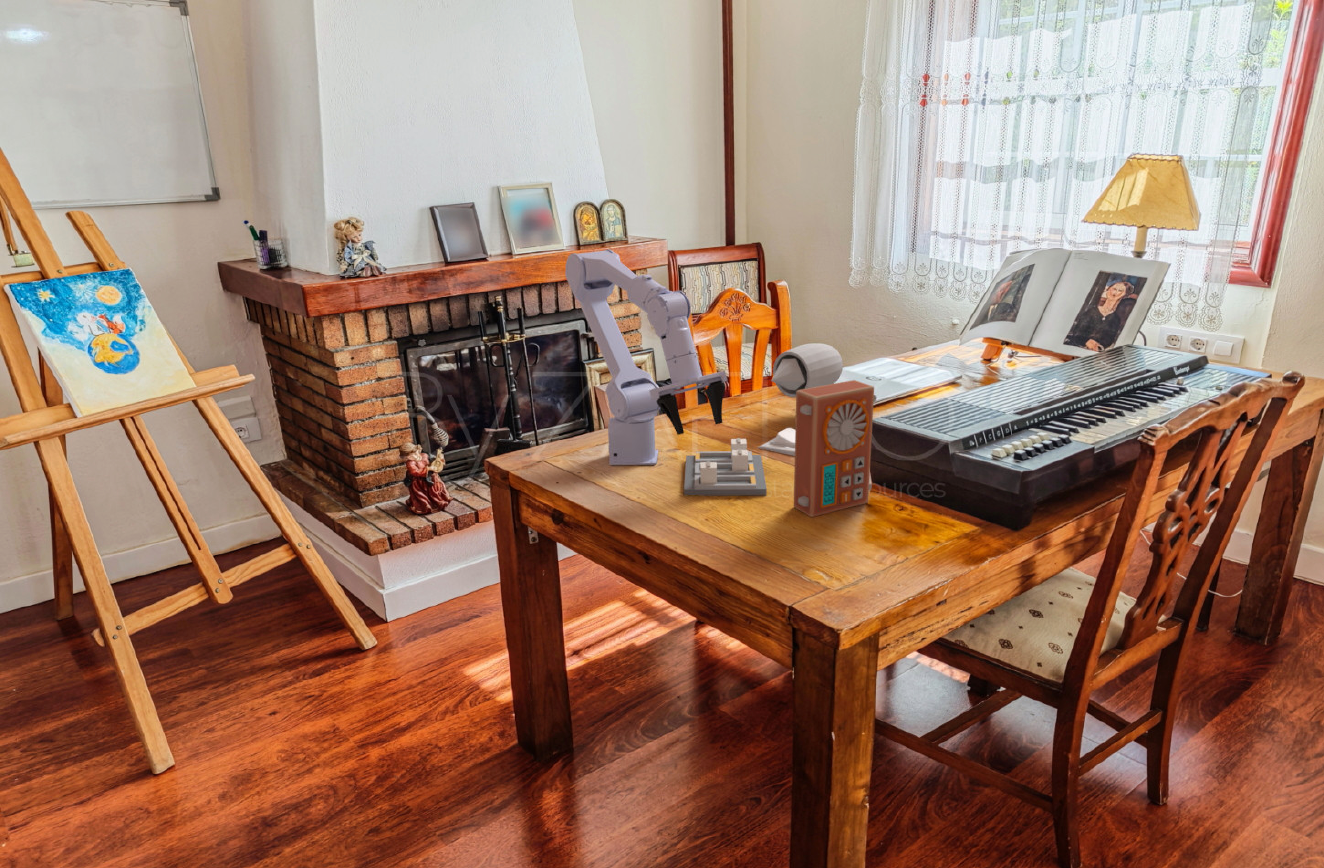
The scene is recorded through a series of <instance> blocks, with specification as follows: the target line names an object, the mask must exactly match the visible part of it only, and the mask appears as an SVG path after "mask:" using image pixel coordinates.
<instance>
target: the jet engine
mask: <svg viewBox="0 0 1324 868" xmlns="http://www.w3.org/2000/svg"><path fill="white" fill-rule="evenodd" d="M843 363H844V362H843V359H842V356H841V354H840V353H839V351H838V350H837V348H836V349H835V347H834V346H831V345H829V344H825V343H819V342H818V343H814V342H813V343H805V344H802V345H801V344H800V345H798V346H795V347H793V348H790V349H788V350H786V351H784V352H782V353H780V354H779V355H778V356H777V357H776V358H775V361H774V363H773V368H772V375H773V377H772V379H771V380H770V381H771V382H773V383H775V385H776V387H777V388H778V390H779V391H780V392H781V393H782V394H784V396H786V397H788V398H794V399H796V391H797V390H802V389H808V388H813V387H819V386H824V385H830V384H835V383H837V381H838V380H839V379H840V377H841V375H842V373H843V368H844V364H843Z"/></svg>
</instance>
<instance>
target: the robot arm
mask: <svg viewBox="0 0 1324 868" xmlns="http://www.w3.org/2000/svg"><path fill="white" fill-rule="evenodd" d="M564 275H565V278H566V281H567V283H568V285H569V288H570V289H571V292H572V293H573V296H574V298H575V299H576V300H577V301H578V303H579V305H580V308H581V310H582V313H583V315H584V316H585V320H586V321H587V322H586V323H588V326H589V328H590V331H591V332H592V335H593V337H594V339H595V341H596V342H595V343H596V344H597V347H598V349H599V351H600V353H601V355H602V358H603V360H604V362H605V364H606V366H607V369H608V371H609V373H610V375H611V379H610V380H609V382H608V383H607V385H606V387H605V394H606V396H607V402H608V407H609V410H610V412H611V414H612V415H613V416H614V417H609V418H608V424H607V425H608V427H607V430H608V431H607V434H608V435H607V437H608V453H609V454H608V456H609V459H608V460H609V462H608V463H609V465H610V466H630V465H631V466H633V465H635V466H650V465H651V466H652V465H653V466H654V465H657V463H658V455H659V450H658V449H656V435H655V417H657V416H658V412H659V411H660V410H662V411H663V412H664V414H665V415H666V417H667V418H668V419H669V421H670V423H671V425H672V426H673V428H674V430H675V432H676V435H677V436H678V435H683V434H684V433H685V430H684V427H683V423H682V420H681V417H680V413H679V412H680V411H679V406H678V401H677V397H676V396H675V395H677V394H681V393H685V392H689V391H693V390H696V389H701V388H704V387H706V389H705V390H704V392H705V394H706V397H707V400H708V403H709V404H710V408H711V409H710V410H711V412H712V417H713V418H712V419H713V420H714V424H715V425H719V424H723V400H724V393H725V390H726V383H725V382H728V377H727V374H726V373H727V372H726V371H725V370H723V371H720V372H719V371H718V372H714V373H711V374H706V375H703V374H702V370H701V367H700V362H699V358H698V355H697V350H696V348H695V343H694V339H693V336H692V332H691V328H690V324H689V321H688V320H689V319H690V317H691V313H692V311H691V310H692V308H691V303H690V299H689V298H688V296H687V295H686V294H685V293H684V292H683V290H675V291H672V290H669V289H667V287H666V286H664V285H661V283H659V282H657V281H656V280H654V279H653V276H651V275H650V274H639V275H637V274H636V273H634V272H633V271H632V270H631V269H629V268H628V267H627V266H626V265H625V264H624V263H623V262H622V261H621V258H620V255H619V254H618V253H616V252H615V251H614V250H612V249H605V250H600V251H590V252H589V251H588V252H581V253H574V252H573V253H571V254H569V255H568V257H567V259H566V262H565V274H564ZM615 286H617V287H619V288H621V289H623V290H624V291H626V296H627V298H628V300H629V302H631V303H633V304H634V305H635V306H637V307H638V308H640V309H641V310H642V311H644V312H645V313H646V317H647V320H648V322H649V323H650V325H651V326H652V327H653V329H654V332H655V334H656V335H657V337H659V339H660V344H661V347H662V351H663V355H664V359H665V362H666V367H667V369H668V373H669V377H670V381H671V384H666V385H663V386H659V385H658V384H657V383H656V382H655V381H654V379H653V378H652V375H651V373H650V372H648V371H646V370H643V369H641V368H639V367H638V366H636V363H635V361H634V359H633V356H632V355H631V352H630V350H629V348H628V346H627V344H626V341H625V339H624V337H623V335H622V333H621V330H620V328H619V326H618V324H617V321H616V320H615V317H614V314H613V313H612V311H611V308H610V306H609V304H608V300H607V299H608V298H609V297H610V296H611V295H612V294H613V292H614V289H615ZM694 384H696V385H695V386H691V385H694ZM687 386H690V387H687ZM683 387H687V388H684V389H681V388H683Z"/></svg>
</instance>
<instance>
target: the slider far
mask: <svg viewBox="0 0 1324 868" xmlns="http://www.w3.org/2000/svg"><path fill="white" fill-rule="evenodd" d="M738 449H741V450H748V443H747V439H746V438H740V437H737V438H731V439H730V451H731V459H732V450H738Z"/></svg>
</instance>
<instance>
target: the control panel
mask: <svg viewBox="0 0 1324 868" xmlns="http://www.w3.org/2000/svg"><path fill="white" fill-rule="evenodd" d="M876 401H877V395H876V394H875V387H874V386H872V385H870V384H867V383H864V382H861V381H858V380H856V379H852V380H847V381H843V382H835V383H834V384H830V385H824V386H819V387H813V388H808V389H802V390H797V391H796V398H795V428H794V429H795V456H794V470H793V471H794V472H793V473H794V475H793V476H794V478H793V479H794V480H793V508H795V509H797V510H798V511H800V512H802V513H804V514H805V515H808V516H809V517H810V518H814V517H818V516H822V515H825V514H829V513H832V512H833V513H834V512H838V511H841V510H844V509H848V508H849V509H850V508H853V507H856V506H860V505H863V504H868V502H869V495H870V493H869V491H870V490H872V484H871V483H870V474H871V473H870V471H871V454H872V437H873V435H872V434H873V421H874V419H873V415H874V403H875V402H876Z"/></svg>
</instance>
